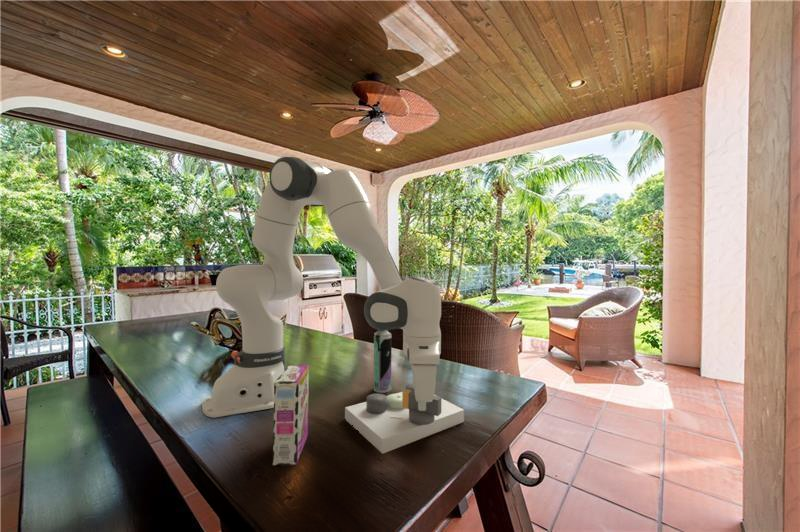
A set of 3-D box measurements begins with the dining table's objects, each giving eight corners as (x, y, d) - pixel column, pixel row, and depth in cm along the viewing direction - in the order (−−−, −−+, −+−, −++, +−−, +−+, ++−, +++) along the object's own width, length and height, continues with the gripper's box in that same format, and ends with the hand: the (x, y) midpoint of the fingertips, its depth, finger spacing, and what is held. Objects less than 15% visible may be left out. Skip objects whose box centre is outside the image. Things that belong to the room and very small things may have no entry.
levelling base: (382, 453, 67) (382, 425, 67) (345, 419, 82) (345, 395, 82) (464, 421, 81) (464, 397, 81) (419, 397, 96) (419, 376, 96)
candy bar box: (298, 465, 63) (298, 382, 63) (272, 467, 63) (272, 382, 62) (309, 435, 74) (309, 364, 74) (287, 436, 74) (287, 364, 74)
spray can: (388, 393, 98) (389, 327, 98) (371, 392, 99) (371, 327, 99) (392, 386, 103) (393, 324, 103) (376, 385, 104) (376, 323, 104)
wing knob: (444, 417, 76) (444, 393, 76) (434, 429, 71) (434, 403, 71) (410, 409, 80) (410, 386, 80) (398, 419, 75) (398, 394, 75)
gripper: (407, 335, 86) (406, 387, 86) (409, 358, 65) (408, 426, 66) (431, 335, 86) (430, 387, 86) (440, 358, 65) (439, 426, 66)
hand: (421, 404), depth 76 cm, fingers open, 3 cm apart
